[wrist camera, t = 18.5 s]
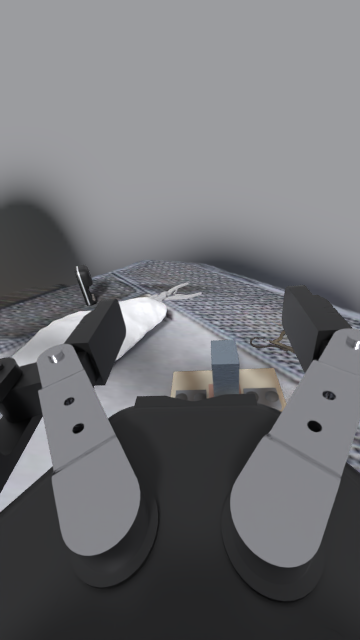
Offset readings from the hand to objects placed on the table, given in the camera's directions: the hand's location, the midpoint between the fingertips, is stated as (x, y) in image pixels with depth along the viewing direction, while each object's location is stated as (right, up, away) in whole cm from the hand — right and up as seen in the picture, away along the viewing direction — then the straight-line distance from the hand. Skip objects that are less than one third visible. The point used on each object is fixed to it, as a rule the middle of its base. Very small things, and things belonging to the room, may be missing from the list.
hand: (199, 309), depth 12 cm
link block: (+6, -13, +27) cm, 31 cm away
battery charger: (-29, +5, +68) cm, 74 cm away
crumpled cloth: (-20, -7, +47) cm, 51 cm away
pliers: (-3, +7, +65) cm, 65 cm away
